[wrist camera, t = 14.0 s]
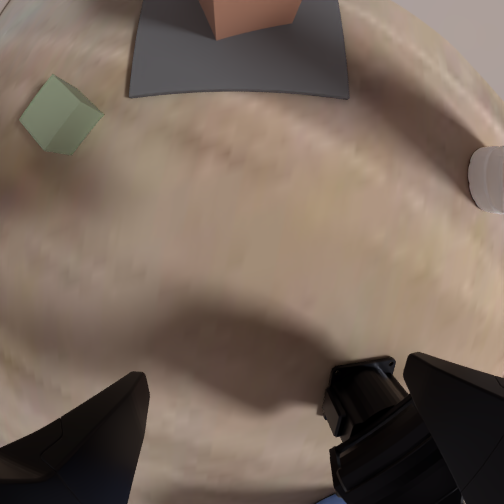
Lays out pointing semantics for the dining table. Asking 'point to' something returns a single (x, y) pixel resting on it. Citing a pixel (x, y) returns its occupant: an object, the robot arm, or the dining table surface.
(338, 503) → the water jug
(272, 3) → the pink upright block
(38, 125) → the olive block
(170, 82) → the charcoal mat
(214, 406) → the dining table surface
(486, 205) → the water bottle
